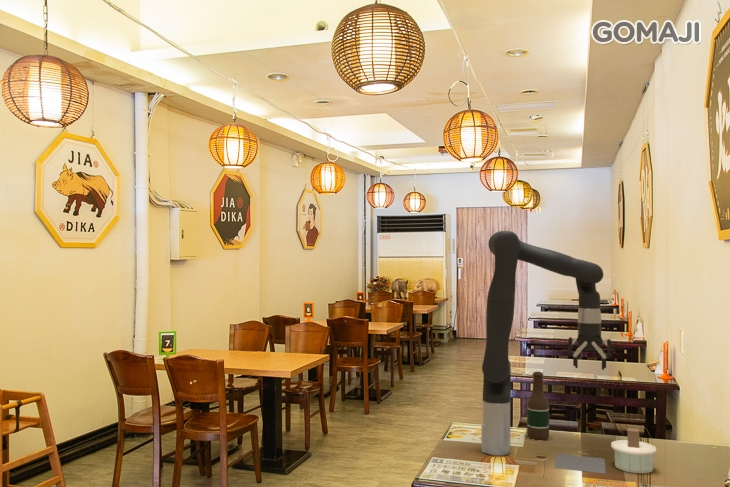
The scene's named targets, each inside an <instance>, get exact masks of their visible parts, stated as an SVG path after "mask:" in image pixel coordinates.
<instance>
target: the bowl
mask: <svg viewBox="0 0 730 487" xmlns="http://www.w3.org/2000/svg"><path fill="white" fill-rule="evenodd" d="M614 466H615V468H617V469H618V470H621V471H623V472H627V473H633V474H647V473H648V474H649V473H651V472H653V471H654V454H653V455H646V456H640V455H630V454H625V453H621V452H618V451H615V450H614Z"/></svg>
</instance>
